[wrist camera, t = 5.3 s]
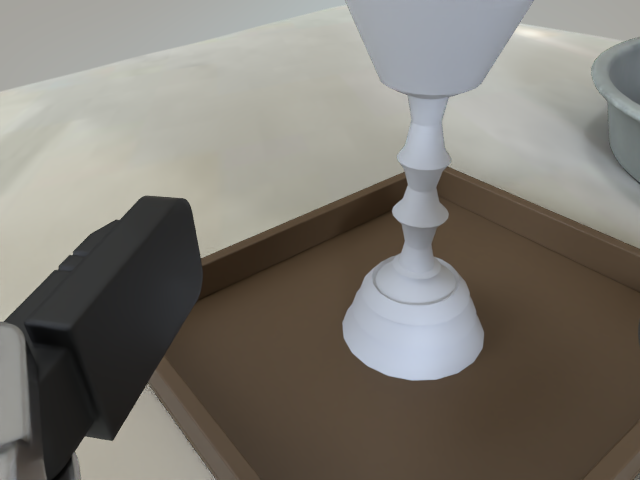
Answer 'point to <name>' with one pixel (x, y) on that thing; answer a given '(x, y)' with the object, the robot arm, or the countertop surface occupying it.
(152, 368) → the robot arm
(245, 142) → the countertop surface
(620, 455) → the tray
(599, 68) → the cake pan
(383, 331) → the chalice
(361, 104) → the countertop surface
